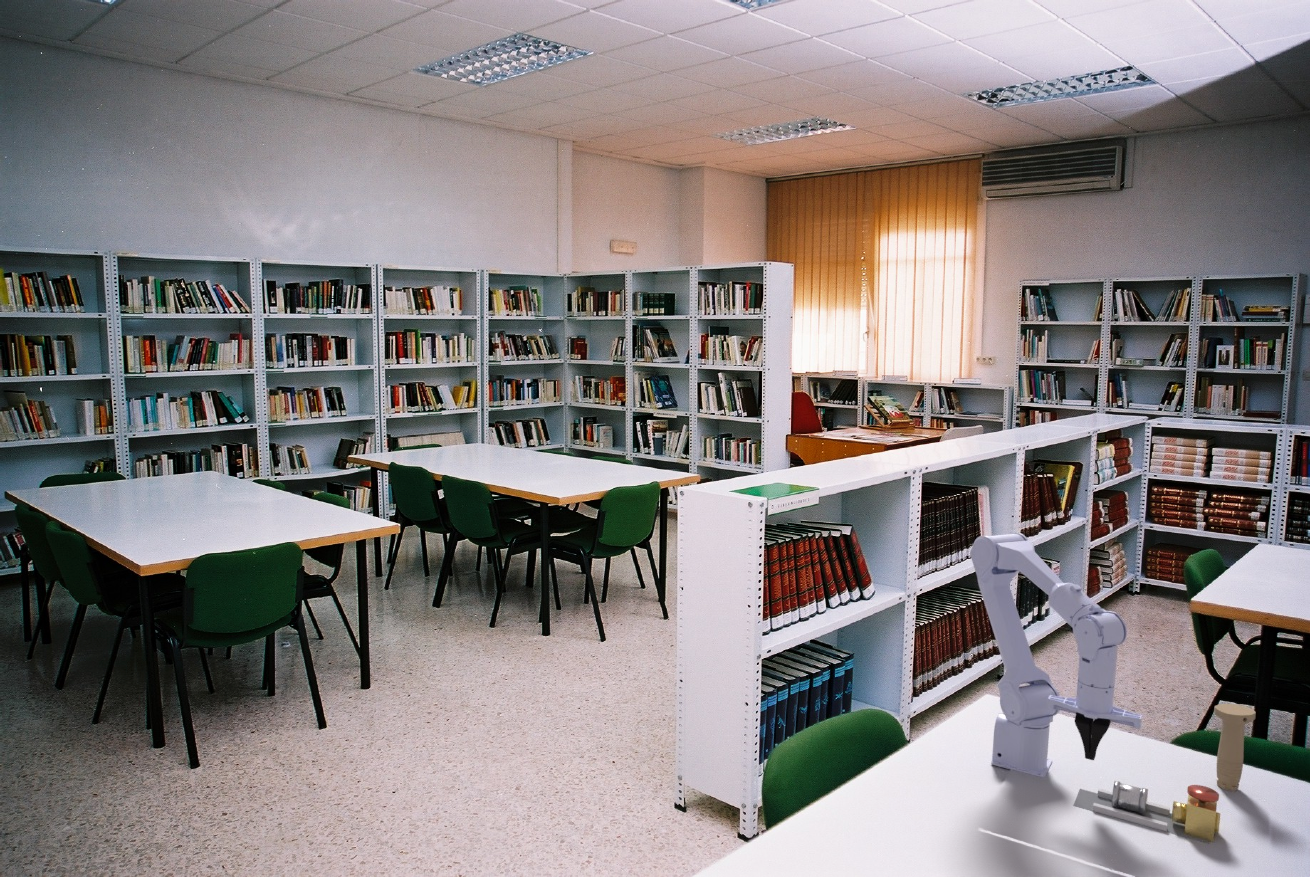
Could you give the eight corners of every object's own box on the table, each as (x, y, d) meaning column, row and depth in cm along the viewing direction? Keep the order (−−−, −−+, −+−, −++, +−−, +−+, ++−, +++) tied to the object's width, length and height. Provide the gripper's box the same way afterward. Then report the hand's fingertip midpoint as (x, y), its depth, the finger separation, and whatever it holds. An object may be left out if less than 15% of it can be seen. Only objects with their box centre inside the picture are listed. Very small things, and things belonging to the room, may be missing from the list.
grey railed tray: (1073, 807, 154) (1073, 799, 154) (1079, 790, 160) (1080, 783, 159) (1209, 845, 143) (1209, 837, 143) (1210, 826, 149) (1211, 818, 148)
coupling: (1110, 807, 152) (1113, 781, 152) (1113, 804, 155) (1116, 779, 156) (1144, 816, 149) (1146, 790, 150) (1145, 813, 153) (1148, 787, 153)
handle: (1253, 794, 159) (1262, 714, 157) (1221, 796, 158) (1228, 715, 157) (1233, 781, 164) (1240, 703, 162) (1201, 782, 163) (1208, 704, 161)
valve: (1170, 829, 146) (1173, 790, 146) (1172, 816, 151) (1176, 778, 150) (1217, 843, 143) (1221, 803, 142) (1218, 828, 147) (1222, 789, 146)
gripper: (1046, 679, 154) (1041, 754, 155) (1141, 699, 146) (1134, 778, 147) (1053, 667, 160) (1048, 739, 161) (1145, 686, 152) (1139, 761, 153)
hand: (1090, 757), depth 155 cm, fingers closed
